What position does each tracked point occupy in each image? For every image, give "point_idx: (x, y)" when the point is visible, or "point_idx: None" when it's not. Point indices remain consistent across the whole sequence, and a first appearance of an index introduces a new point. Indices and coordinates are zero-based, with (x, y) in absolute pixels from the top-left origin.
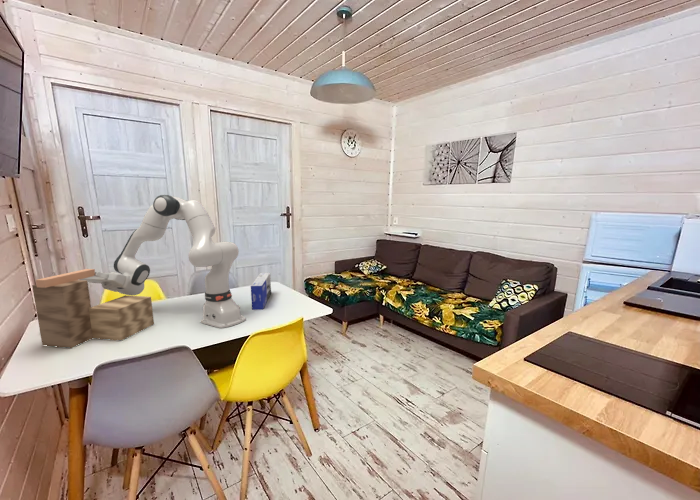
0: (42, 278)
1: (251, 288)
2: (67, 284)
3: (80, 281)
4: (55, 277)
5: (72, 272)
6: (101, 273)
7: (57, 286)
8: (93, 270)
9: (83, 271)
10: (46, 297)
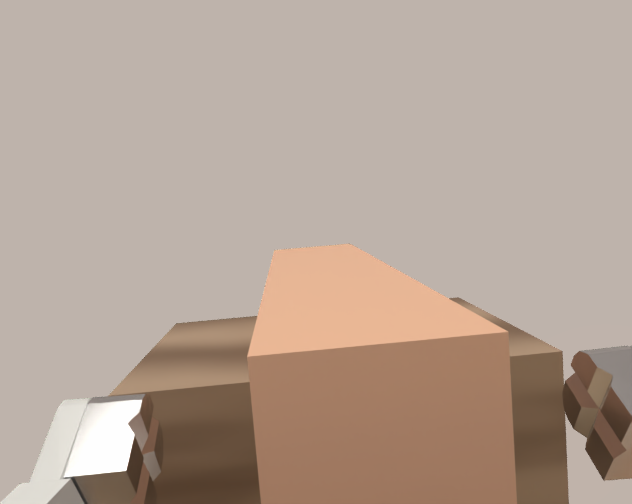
0: (352, 247)
1: None
2: (196, 337)
3: (159, 372)
4: (284, 257)
5: (369, 277)
6: (25, 493)
7: (221, 319)
8: (249, 376)
9: (271, 300)
10: None
